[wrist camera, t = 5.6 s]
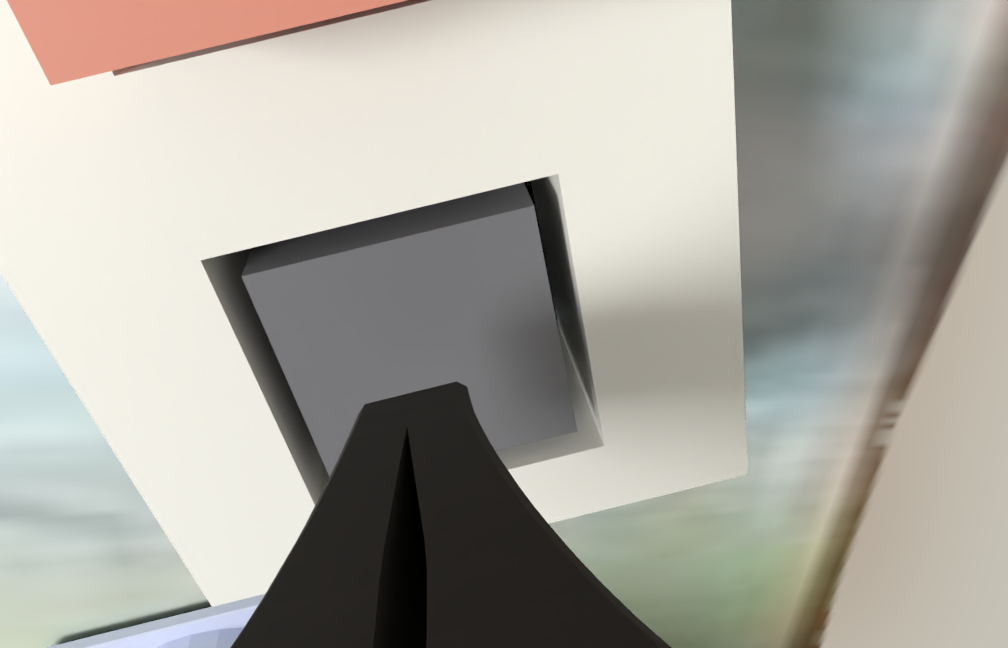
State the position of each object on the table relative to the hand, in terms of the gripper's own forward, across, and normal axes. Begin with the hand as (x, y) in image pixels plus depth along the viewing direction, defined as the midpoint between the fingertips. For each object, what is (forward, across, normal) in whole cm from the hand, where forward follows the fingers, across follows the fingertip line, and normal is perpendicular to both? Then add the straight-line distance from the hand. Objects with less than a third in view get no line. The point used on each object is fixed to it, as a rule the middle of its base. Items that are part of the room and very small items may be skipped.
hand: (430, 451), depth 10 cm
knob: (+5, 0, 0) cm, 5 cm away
